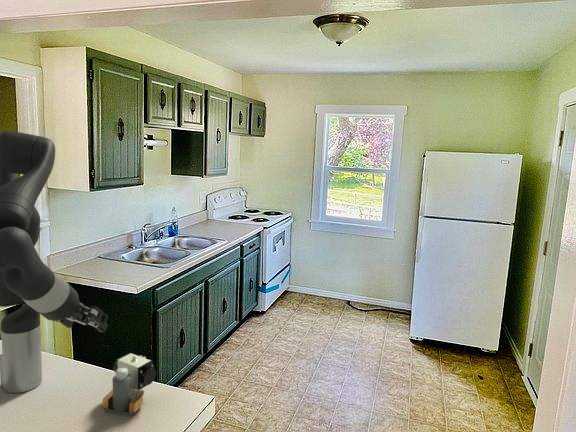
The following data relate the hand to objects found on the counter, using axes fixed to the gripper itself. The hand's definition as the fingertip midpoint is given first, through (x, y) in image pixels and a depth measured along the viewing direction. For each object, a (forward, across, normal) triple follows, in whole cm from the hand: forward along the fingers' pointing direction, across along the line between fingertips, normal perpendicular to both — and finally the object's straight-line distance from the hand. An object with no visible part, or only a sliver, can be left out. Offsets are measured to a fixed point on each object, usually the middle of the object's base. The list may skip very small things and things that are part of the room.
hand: (87, 326), depth 96 cm
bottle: (+25, -3, +12) cm, 27 cm away
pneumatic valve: (+30, -3, +8) cm, 31 cm away
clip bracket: (+26, -3, +12) cm, 28 cm away
